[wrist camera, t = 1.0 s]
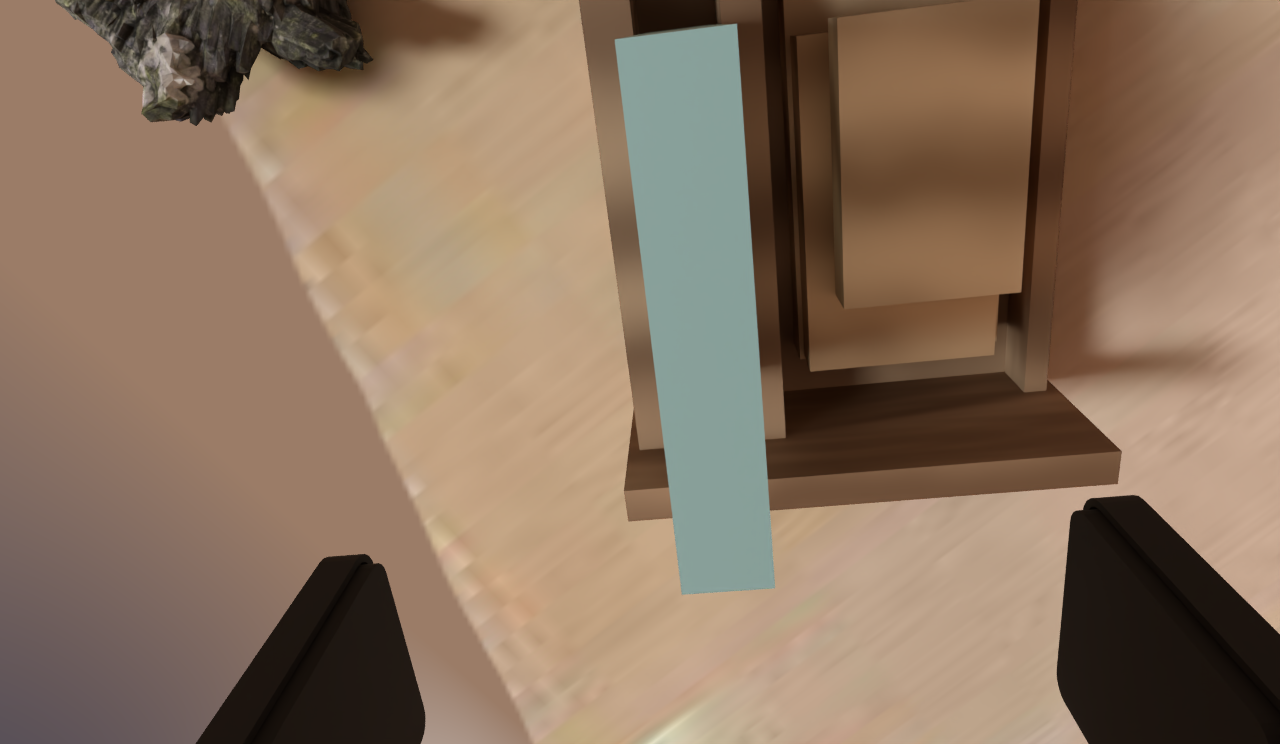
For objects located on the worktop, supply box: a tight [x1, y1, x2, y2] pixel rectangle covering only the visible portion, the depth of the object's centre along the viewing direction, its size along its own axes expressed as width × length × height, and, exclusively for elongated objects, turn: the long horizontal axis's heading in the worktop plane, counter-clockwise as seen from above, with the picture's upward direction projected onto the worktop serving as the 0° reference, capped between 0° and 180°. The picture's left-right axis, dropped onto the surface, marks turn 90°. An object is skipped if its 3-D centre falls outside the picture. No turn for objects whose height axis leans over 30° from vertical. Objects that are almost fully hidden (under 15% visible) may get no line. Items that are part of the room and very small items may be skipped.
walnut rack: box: [579, 0, 1122, 521], centre depth 34 cm, size 24×20×10 cm
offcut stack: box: [778, 0, 1040, 372], centre depth 34 cm, size 16×9×6 cm, turn 7°
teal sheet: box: [615, 24, 775, 595], centre depth 28 cm, size 14×2×20 cm, turn 7°
